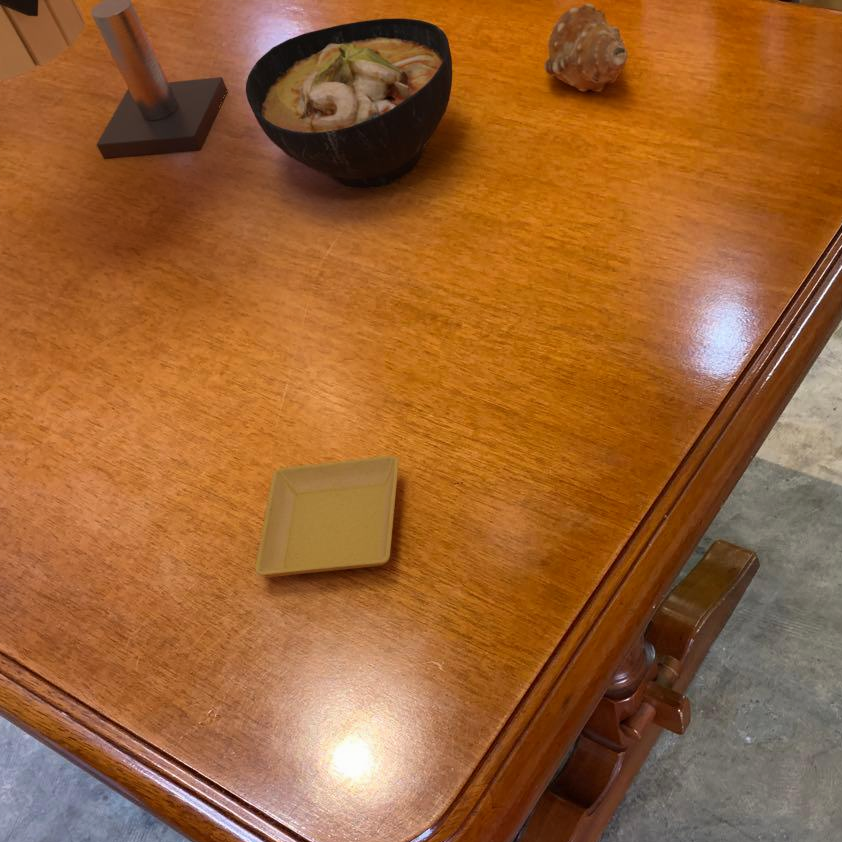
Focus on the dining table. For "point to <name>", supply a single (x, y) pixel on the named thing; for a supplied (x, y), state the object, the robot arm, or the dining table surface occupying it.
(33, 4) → the robot arm
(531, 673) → the dining table surface
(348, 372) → the dining table surface
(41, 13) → the slatted pencil cup
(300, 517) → the saucer
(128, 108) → the metal peg stand
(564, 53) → the seashell
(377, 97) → the bowl
